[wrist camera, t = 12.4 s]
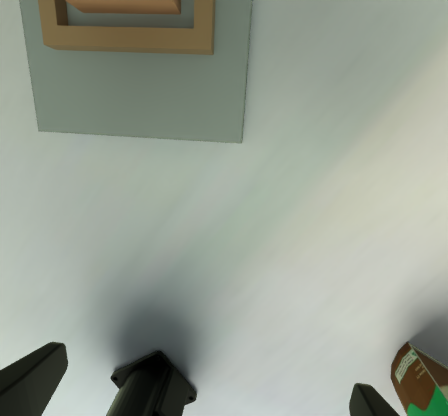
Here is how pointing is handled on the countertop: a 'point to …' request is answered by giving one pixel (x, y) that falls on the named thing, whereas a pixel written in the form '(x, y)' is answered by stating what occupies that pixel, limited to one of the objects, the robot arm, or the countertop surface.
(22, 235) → the countertop surface
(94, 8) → the terracotta block
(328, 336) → the countertop surface
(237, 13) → the base slab
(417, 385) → the food container
